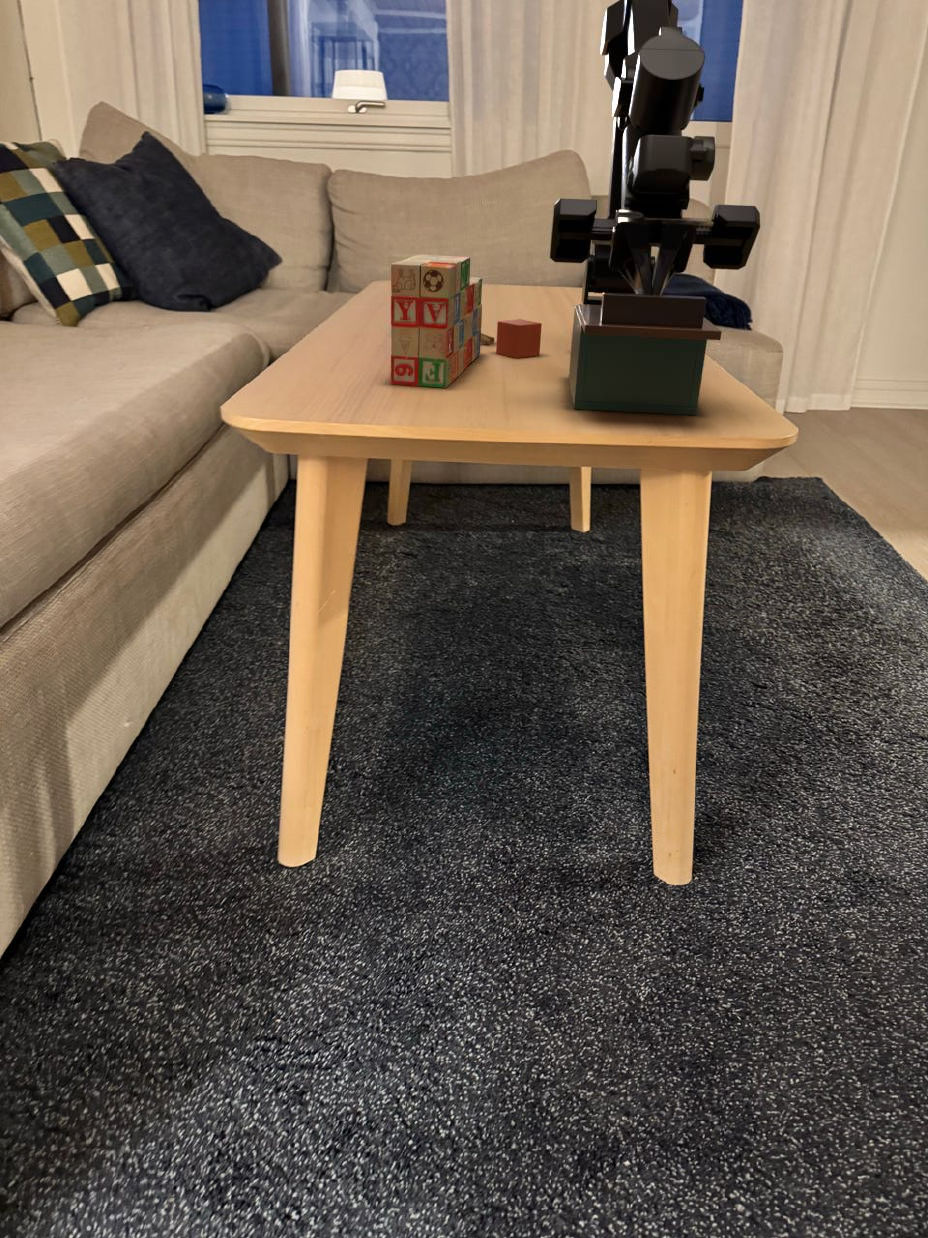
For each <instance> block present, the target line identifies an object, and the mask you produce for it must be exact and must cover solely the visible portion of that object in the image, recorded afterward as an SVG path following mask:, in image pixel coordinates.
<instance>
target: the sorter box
mask: <svg viewBox="0 0 928 1238" xmlns="http://www.w3.org/2000/svg"><path fill="white" fill-rule="evenodd" d="M577 308H578V305H574V309H573V323H572V335H571V347H570V358H569V371H568V372H569V373H568V383H569V389H570V395H571V400H572V407H573V410H582V411H584V410H585V411H586V410H587V411H604V412H622V413H623V412H625V413H643V414H645V413H646V414H663V415H685V416H696V415H697V412H698V404H699V399H700V392H701V385H702V379H703V370H704V366H705V365H704V364H705V358H706V351H707V343H708V340H702V339H680V338H659V337H637V336H615V335H593V334H584V331H583V328H582V325H581V322H580V319H579V316H578V312H577Z"/></svg>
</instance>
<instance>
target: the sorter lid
mask: <svg viewBox="0 0 928 1238" xmlns="http://www.w3.org/2000/svg"><path fill="white" fill-rule="evenodd" d="M602 296H603V297H602V305H584V304H581V303H580V304H579V303H578V304H577V306H578V308H577V312H578V316H579V319H580V322H581V325H582V328H583V331H584V334H593V335H615V336H637V337H659V338H680V339H702V340H707V341H721V338H722V333H723V332H722V330H721V329H720V328H719V327H717V326H716V325H715V324H714V323H712V322H711V321H710V320H708V319H707V318H706V317H705V311H706V304H707V298H706V297H705V296H692V295H691V296H690V295H673V294H672V295H670V294H662V295H650V294H627V293H602Z"/></svg>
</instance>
